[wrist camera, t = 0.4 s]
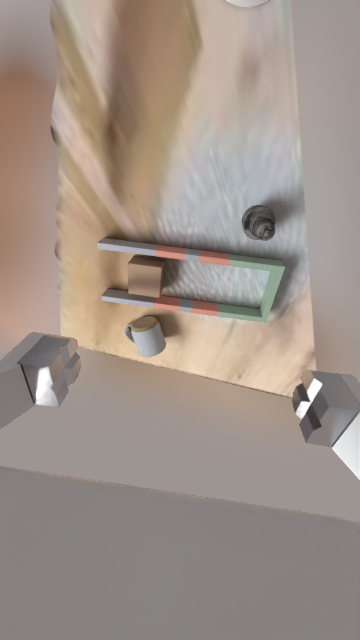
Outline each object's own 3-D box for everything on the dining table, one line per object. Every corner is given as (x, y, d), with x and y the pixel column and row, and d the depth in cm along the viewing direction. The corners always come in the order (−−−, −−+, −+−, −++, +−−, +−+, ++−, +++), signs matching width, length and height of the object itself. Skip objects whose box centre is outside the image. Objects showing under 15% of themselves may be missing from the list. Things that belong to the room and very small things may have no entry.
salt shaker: (276, 224, 48) (294, 239, 38) (248, 240, 51) (259, 260, 41) (263, 196, 46) (278, 206, 36) (235, 215, 48) (242, 229, 38)
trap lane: (104, 237, 53) (97, 242, 50) (280, 260, 52) (285, 267, 49) (107, 293, 60) (102, 300, 57) (262, 313, 59) (265, 322, 56)
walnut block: (134, 255, 55) (128, 263, 51) (164, 259, 55) (161, 267, 50) (133, 284, 59) (128, 293, 54) (162, 288, 58) (159, 297, 54)
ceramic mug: (160, 312, 62) (153, 329, 56) (168, 337, 66) (163, 356, 60) (121, 318, 64) (111, 335, 58) (132, 342, 68) (123, 361, 62)
